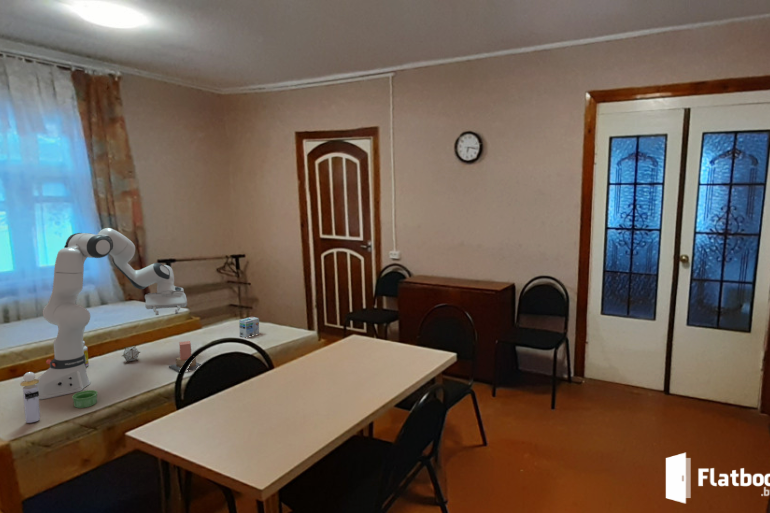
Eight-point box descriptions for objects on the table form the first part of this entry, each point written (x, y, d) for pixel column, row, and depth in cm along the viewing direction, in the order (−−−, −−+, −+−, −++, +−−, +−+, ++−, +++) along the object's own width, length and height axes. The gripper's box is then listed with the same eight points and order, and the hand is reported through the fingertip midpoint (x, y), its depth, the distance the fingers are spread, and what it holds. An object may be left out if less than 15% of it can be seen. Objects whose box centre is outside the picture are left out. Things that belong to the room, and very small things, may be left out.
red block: (180, 360, 239) (179, 344, 238) (180, 357, 244) (179, 342, 243) (191, 358, 241) (190, 343, 240) (190, 355, 246) (189, 340, 245)
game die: (127, 368, 250) (114, 354, 249) (140, 358, 257) (127, 344, 255) (134, 363, 246) (121, 349, 244) (147, 353, 252) (134, 339, 251)
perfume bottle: (22, 421, 184) (17, 372, 182) (40, 416, 188) (36, 368, 186) (25, 426, 180) (21, 376, 178) (44, 421, 185) (39, 372, 182)
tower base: (180, 373, 235) (180, 363, 234) (168, 367, 242) (168, 358, 242) (203, 367, 244) (203, 357, 244) (191, 361, 252) (190, 352, 251)
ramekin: (101, 404, 201) (100, 394, 200) (76, 411, 194) (76, 400, 194) (94, 397, 207) (93, 388, 206) (70, 404, 200) (69, 394, 199)
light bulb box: (246, 338, 292) (246, 321, 291) (239, 336, 296) (238, 319, 295) (259, 334, 301) (259, 317, 300) (252, 332, 305) (252, 316, 304)
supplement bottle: (91, 365, 244) (90, 341, 242) (78, 369, 238) (76, 345, 236) (83, 363, 247) (81, 339, 245) (70, 367, 241) (68, 343, 239)
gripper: (144, 290, 250) (144, 312, 243) (186, 288, 259) (187, 309, 252) (144, 296, 255) (145, 318, 247) (186, 294, 264) (187, 315, 256)
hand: (167, 313), depth 250 cm, fingers open, 8 cm apart
